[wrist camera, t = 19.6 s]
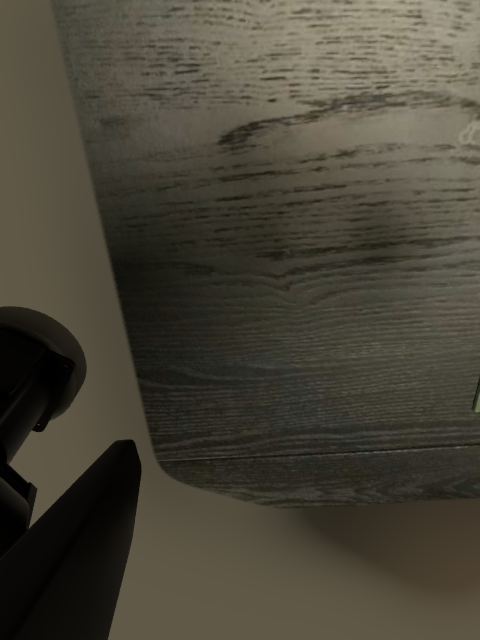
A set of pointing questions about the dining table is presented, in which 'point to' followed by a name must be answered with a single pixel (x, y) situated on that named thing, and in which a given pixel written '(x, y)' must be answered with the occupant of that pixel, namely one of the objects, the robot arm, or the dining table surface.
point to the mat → (477, 400)
